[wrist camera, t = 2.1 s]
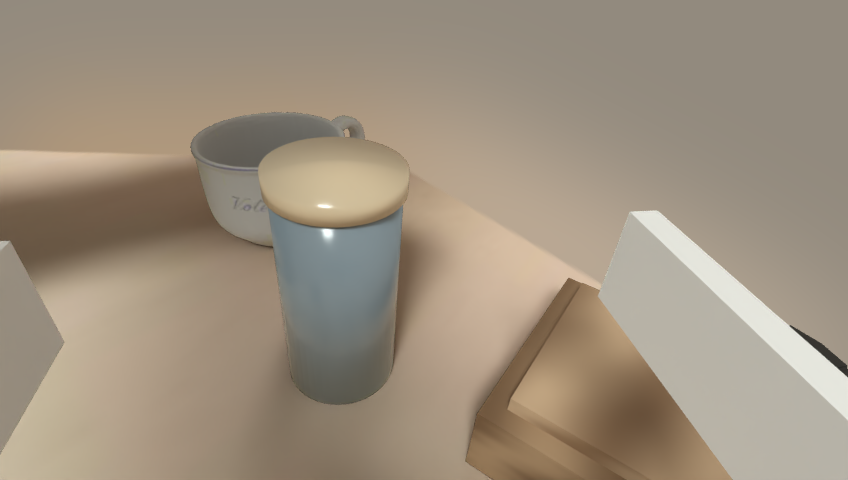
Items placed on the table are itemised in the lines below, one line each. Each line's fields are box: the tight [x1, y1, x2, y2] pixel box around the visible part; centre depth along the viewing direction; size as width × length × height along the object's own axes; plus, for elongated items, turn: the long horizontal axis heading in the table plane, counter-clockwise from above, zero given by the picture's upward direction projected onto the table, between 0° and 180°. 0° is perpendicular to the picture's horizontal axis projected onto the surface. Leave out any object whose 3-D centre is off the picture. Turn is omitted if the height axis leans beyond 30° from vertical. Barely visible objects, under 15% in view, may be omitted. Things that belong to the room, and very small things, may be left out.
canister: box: [258, 137, 410, 405], centre depth 24 cm, size 6×6×13 cm
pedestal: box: [466, 278, 733, 480], centre depth 23 cm, size 12×12×5 cm
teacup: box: [191, 112, 365, 246], centre depth 37 cm, size 14×11×8 cm
